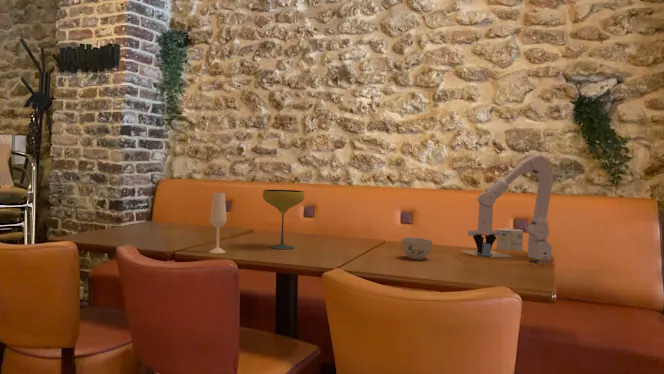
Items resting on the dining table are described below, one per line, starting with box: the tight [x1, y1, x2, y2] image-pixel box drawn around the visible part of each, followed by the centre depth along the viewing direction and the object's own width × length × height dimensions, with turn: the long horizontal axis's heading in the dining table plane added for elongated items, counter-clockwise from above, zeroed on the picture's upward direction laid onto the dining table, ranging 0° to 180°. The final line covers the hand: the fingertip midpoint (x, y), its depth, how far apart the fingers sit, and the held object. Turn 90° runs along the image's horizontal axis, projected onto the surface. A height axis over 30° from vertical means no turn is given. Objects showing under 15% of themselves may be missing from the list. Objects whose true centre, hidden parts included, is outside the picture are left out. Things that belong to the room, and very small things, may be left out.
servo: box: [475, 240, 493, 256], centre depth 226 cm, size 9×3×6 cm, turn 13°
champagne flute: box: [209, 192, 228, 254], centre depth 219 cm, size 7×7×24 cm
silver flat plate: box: [459, 249, 514, 258], centre depth 230 cm, size 17×16×2 cm
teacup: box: [401, 236, 433, 261], centre depth 221 cm, size 15×12×8 cm
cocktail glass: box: [262, 189, 305, 250], centre depth 236 cm, size 18×18×25 cm
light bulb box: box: [496, 227, 524, 252], centre depth 245 cm, size 11×7×11 cm, turn 84°
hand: (483, 252), depth 226 cm, fingers closed on servo, 3 cm apart
